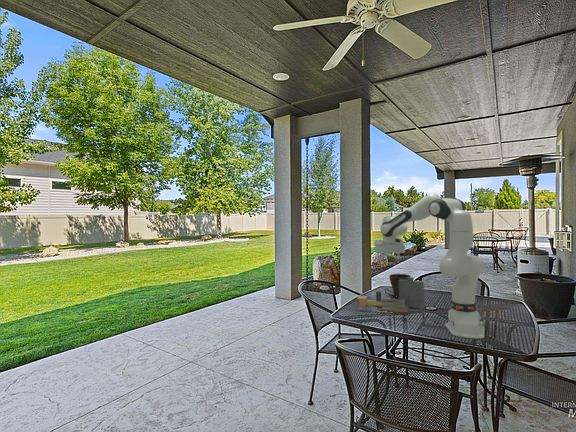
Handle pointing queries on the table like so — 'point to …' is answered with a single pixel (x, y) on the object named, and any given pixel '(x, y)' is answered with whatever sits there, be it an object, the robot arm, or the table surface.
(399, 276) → the plant pot
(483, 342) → the table surface
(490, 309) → the table surface
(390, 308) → the sleeve stand
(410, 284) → the hip flask
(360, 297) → the socket block
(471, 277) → the robot arm
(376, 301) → the slip tube
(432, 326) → the table surface
